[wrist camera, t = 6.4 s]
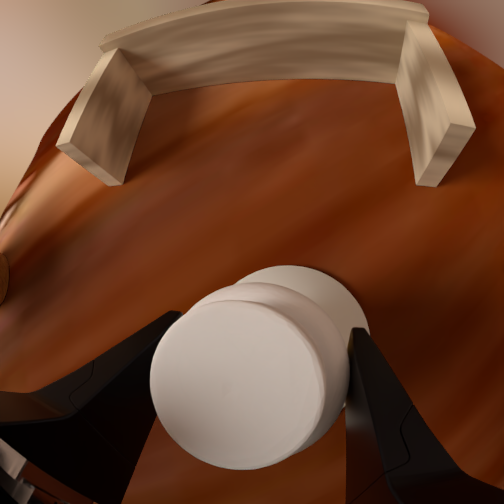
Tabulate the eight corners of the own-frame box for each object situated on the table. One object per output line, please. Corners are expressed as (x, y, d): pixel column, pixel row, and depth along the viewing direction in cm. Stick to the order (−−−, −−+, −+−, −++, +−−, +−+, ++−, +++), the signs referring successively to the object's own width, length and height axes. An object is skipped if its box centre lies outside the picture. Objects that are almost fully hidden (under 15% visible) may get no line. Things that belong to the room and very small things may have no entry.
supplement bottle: (353, 355, 15) (419, 389, 5) (278, 423, 14) (228, 530, 5) (282, 284, 16) (237, 211, 7) (210, 352, 16) (85, 366, 6)
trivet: (389, 394, 15) (391, 396, 14) (234, 442, 16) (232, 444, 16) (335, 243, 18) (335, 241, 17) (187, 298, 19) (184, 297, 19)
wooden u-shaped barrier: (436, 187, 17) (482, 116, 10) (108, 186, 23) (46, 139, 15) (408, 74, 20) (422, 4, 12) (143, 87, 26) (105, 35, 18)
